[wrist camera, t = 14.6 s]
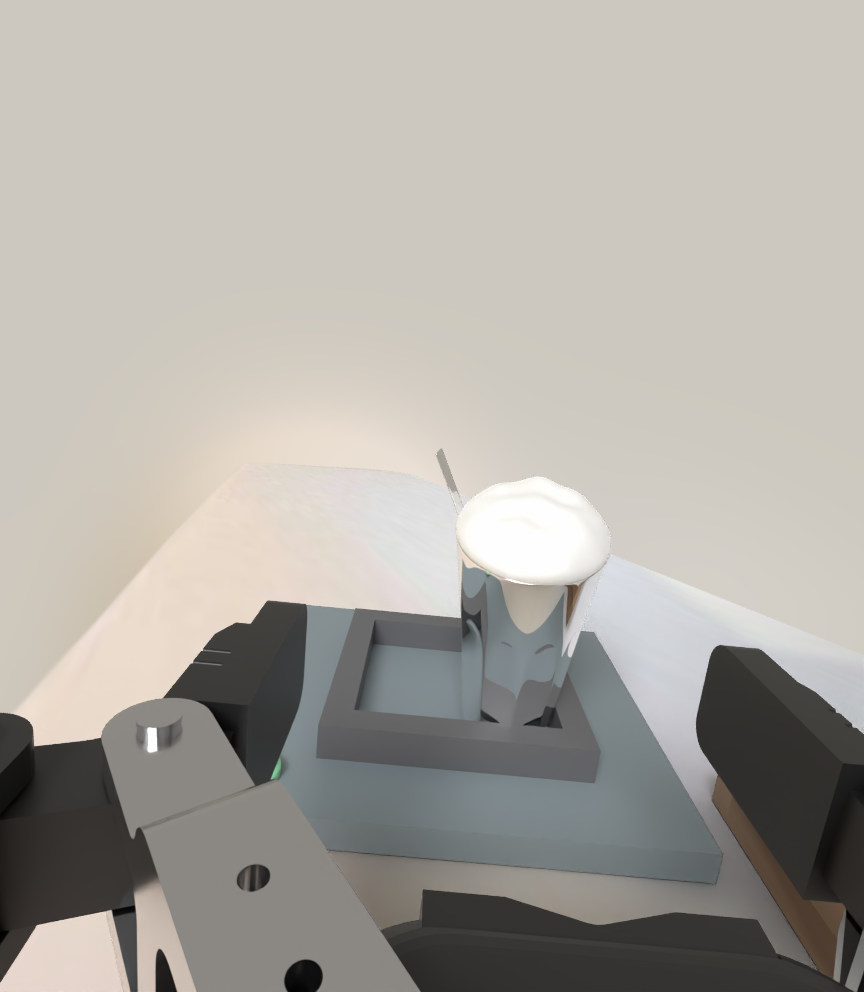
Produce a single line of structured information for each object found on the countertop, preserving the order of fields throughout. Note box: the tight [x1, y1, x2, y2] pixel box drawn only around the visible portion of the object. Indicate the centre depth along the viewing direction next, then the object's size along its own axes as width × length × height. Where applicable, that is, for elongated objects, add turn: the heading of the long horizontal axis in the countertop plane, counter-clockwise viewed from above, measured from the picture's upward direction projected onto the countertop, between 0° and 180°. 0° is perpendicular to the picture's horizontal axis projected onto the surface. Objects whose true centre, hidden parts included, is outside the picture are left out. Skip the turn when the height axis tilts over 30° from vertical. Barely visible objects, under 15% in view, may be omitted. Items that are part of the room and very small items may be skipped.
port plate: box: [271, 605, 723, 884], centre depth 23 cm, size 15×14×2 cm
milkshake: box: [436, 449, 611, 727], centre depth 19 cm, size 4×5×10 cm
